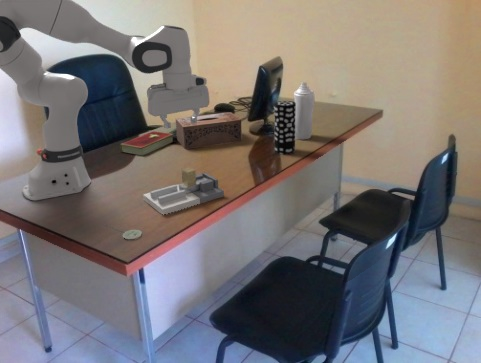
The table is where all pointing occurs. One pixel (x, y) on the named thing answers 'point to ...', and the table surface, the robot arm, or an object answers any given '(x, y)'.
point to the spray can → (303, 111)
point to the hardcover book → (147, 143)
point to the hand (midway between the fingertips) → (180, 125)
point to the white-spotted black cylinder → (285, 127)
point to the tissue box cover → (209, 130)
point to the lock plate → (183, 195)
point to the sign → (130, 233)
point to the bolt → (190, 180)
